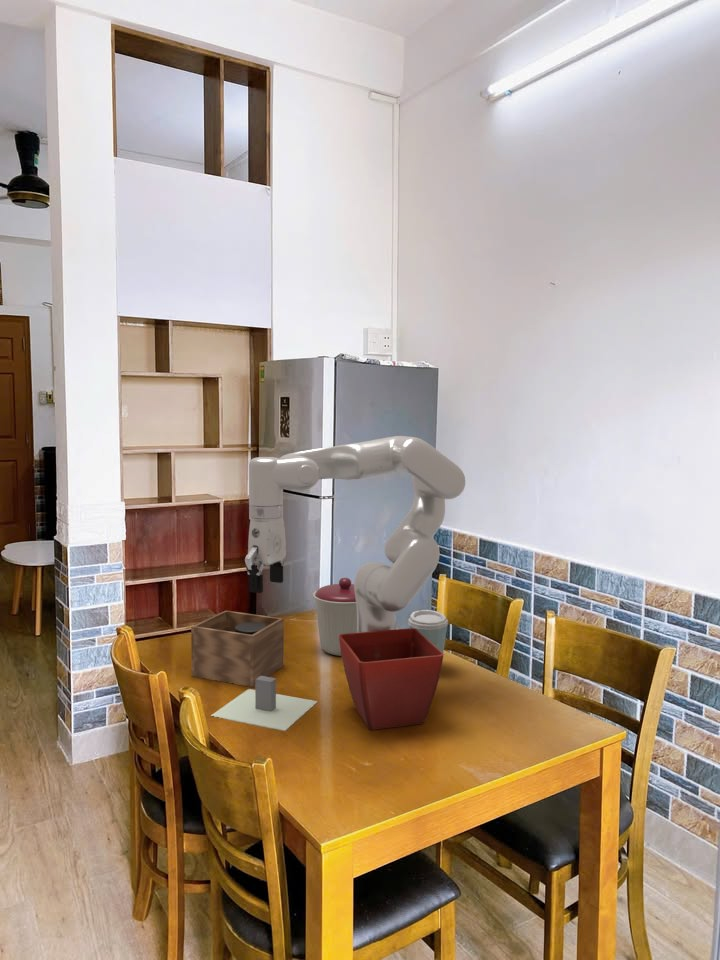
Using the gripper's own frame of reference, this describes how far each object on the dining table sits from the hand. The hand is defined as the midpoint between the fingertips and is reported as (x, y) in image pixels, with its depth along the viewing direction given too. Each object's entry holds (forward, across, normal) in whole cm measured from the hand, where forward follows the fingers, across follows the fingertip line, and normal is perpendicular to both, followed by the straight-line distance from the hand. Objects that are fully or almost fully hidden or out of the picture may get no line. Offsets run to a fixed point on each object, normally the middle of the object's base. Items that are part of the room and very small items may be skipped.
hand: (266, 587), depth 164 cm
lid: (+29, -1, 0) cm, 29 cm away
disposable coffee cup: (+29, +38, -28) cm, 55 cm away
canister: (+29, +43, -2) cm, 52 cm away
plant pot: (+29, +6, -27) cm, 40 cm away
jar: (+29, +18, +15) cm, 37 cm away
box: (+28, +17, +18) cm, 38 cm away
